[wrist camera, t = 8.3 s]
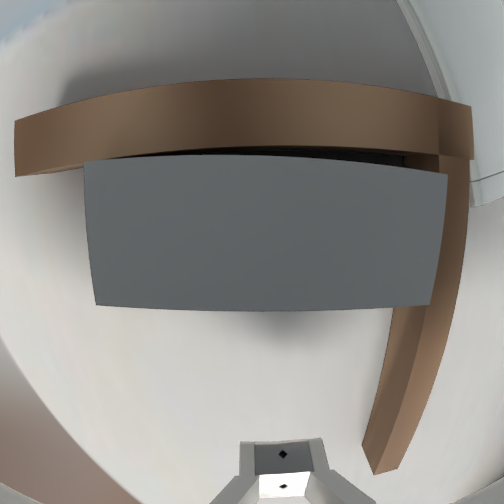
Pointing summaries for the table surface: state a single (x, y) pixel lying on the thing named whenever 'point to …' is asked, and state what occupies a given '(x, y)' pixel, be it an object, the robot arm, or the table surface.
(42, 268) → the table surface
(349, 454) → the table surface
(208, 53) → the table surface
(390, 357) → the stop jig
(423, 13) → the hard drive
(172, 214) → the block
